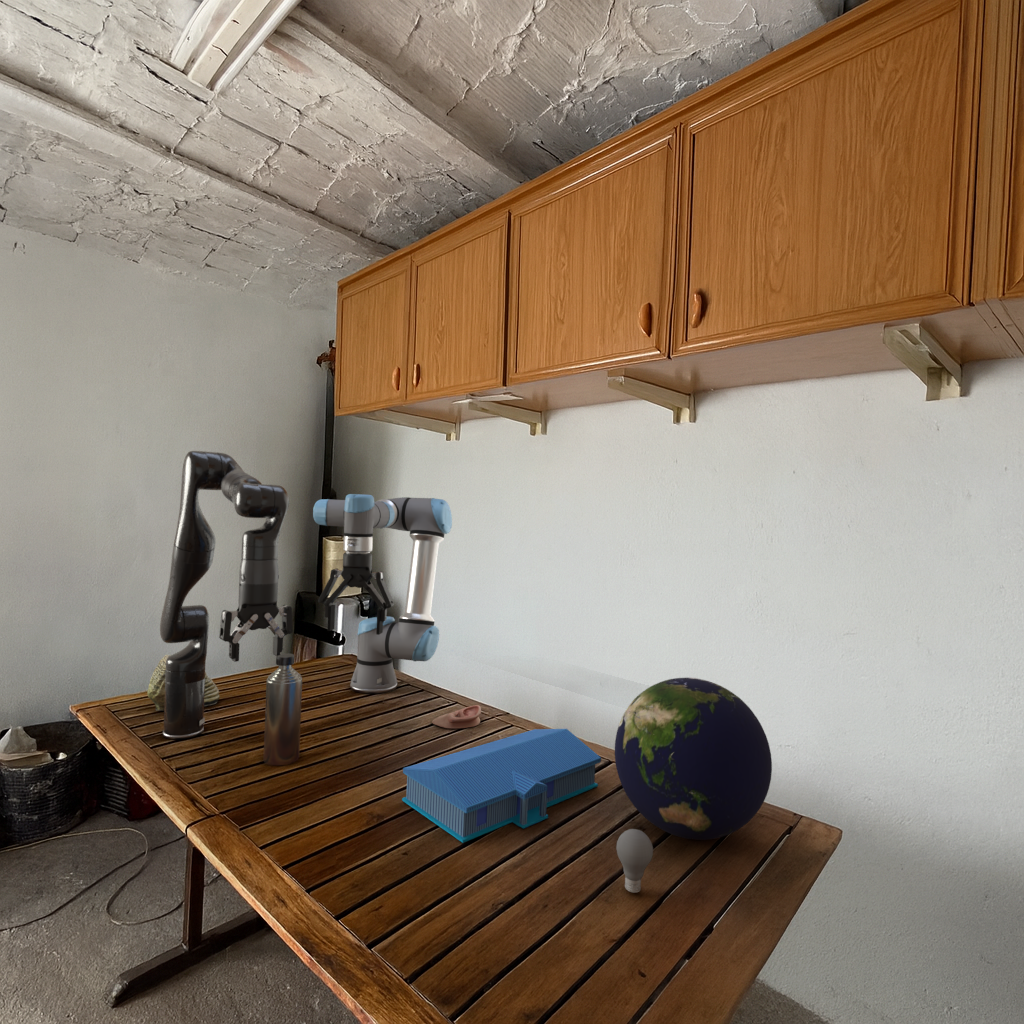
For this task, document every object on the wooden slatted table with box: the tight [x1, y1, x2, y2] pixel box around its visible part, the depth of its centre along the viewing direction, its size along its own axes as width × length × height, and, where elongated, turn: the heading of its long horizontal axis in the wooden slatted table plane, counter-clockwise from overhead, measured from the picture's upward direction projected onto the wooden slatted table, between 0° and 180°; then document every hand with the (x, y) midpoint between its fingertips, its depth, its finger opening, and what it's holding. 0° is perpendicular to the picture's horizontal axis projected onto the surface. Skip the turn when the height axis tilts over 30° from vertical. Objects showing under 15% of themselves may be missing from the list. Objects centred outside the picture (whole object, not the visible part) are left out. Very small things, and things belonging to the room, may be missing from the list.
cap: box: [275, 653, 295, 667], centre depth 152 cm, size 4×4×2 cm
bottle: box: [263, 665, 303, 767], centre depth 152 cm, size 8×8×24 cm
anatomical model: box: [431, 704, 482, 729], centre depth 181 cm, size 13×4×12 cm
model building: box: [401, 728, 602, 844], centre depth 138 cm, size 39×24×10 cm, turn 132°
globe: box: [614, 676, 773, 841], centre depth 126 cm, size 30×30×30 cm
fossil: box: [147, 654, 221, 712], centre depth 185 cm, size 9×18×15 cm, turn 132°
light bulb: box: [615, 828, 654, 894], centre depth 106 cm, size 6×6×10 cm
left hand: (256, 657), depth 132 cm, fingers open, 8 cm apart
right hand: (355, 631), depth 169 cm, fingers open, 13 cm apart
